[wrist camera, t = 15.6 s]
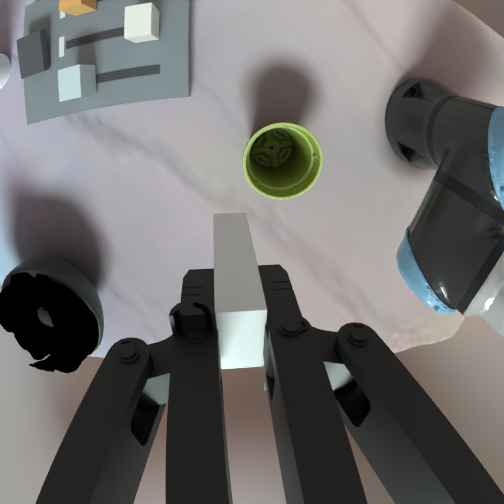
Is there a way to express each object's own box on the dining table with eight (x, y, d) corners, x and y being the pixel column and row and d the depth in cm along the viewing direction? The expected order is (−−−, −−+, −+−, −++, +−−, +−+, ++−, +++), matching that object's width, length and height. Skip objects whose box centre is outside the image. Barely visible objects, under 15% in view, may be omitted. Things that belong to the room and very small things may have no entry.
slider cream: (159, 11, 27) (151, 2, 22) (159, 39, 29) (150, 34, 24) (135, 15, 26) (125, 6, 22) (135, 42, 28) (124, 38, 24)
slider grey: (95, 64, 29) (79, 64, 25) (96, 93, 31) (81, 96, 27) (75, 69, 29) (57, 70, 24) (76, 98, 31) (59, 102, 27)
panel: (191, -29, 26) (189, -38, 23) (190, 95, 36) (187, 97, 33) (35, 8, 24) (23, 5, 21) (37, 121, 34) (25, 125, 31)
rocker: (45, 29, 23) (39, 30, 22) (49, 68, 28) (44, 71, 26) (22, 38, 23) (16, 40, 22) (27, 76, 27) (21, 79, 26)
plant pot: (257, 102, 38) (267, 107, 30) (315, 134, 41) (337, 147, 34) (226, 160, 42) (228, 179, 34) (283, 187, 45) (297, 211, 38)
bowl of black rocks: (120, 326, 56) (101, 405, 40) (37, 312, 52) (5, 380, 37) (111, 240, 46) (72, 321, 30) (15, 230, 42) (-40, 295, 26)
